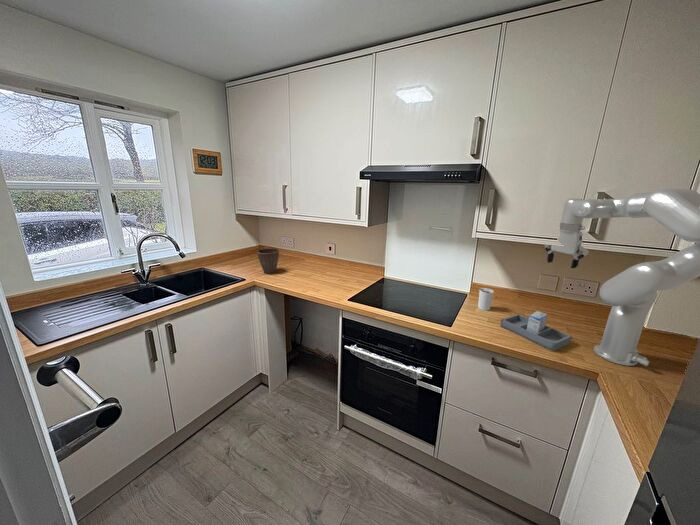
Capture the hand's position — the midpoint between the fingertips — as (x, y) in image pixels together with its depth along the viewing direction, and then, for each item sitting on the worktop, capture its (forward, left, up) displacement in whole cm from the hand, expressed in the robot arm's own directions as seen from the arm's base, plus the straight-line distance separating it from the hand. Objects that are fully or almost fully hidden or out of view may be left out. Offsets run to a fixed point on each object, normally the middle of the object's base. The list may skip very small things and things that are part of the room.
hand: (561, 265), depth 129 cm
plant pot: (+134, +102, -29) cm, 171 cm away
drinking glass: (+24, +15, -29) cm, 40 cm away
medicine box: (-4, +19, -28) cm, 34 cm away
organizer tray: (-4, +19, -28) cm, 34 cm away
